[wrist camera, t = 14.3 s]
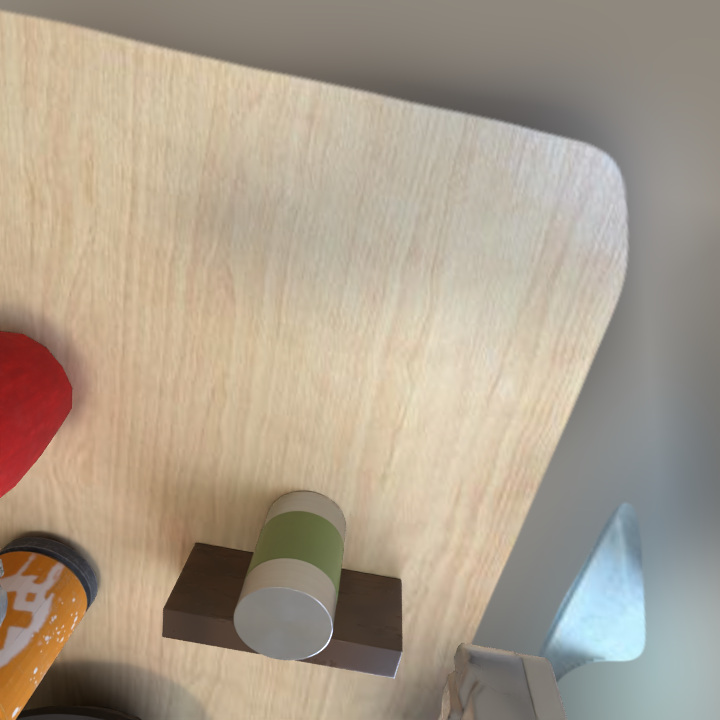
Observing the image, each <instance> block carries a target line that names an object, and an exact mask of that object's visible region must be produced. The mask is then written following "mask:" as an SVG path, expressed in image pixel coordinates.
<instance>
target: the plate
mask: <svg viewBox="0 0 720 720" xmlns="http://www.w3.org/2000/svg"><path fill="white" fill-rule="evenodd" d="M16 720H141V719H139V718H136V717H134V716H131V715H129V714H126V713H123V712H120V711H116V710H112V709H107V708H102V707H94V706H56V707H43V708H35V709H30V710H25V711H21V712H20V714H19V715H18V717H17V718H16Z"/></svg>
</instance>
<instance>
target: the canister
mask: <svg viewBox="0 0 720 720" xmlns="http://www.w3.org/2000/svg"><path fill="white" fill-rule="evenodd" d="M0 559H2V564H3V569H4V574H3V576H2V577H1V578H0V585H1V586H2V587H3V589H4V590H5V591H6V592H7V599H8V606H7V611H6V616H5V618H4V621H3V623H2V625H1V627H0V720H16V718H17V717H18V715H19V714H20V712H21V711H22V709H23V708H24V706H25V705H26V703H27V701H28V700H29V698H30V697H31V695H32V694H33V692H34V691H35V689H36V688H37V686H38V685H39V683H40V682H41V680H42V679H43V677H44V675H45V674H46V672H47V671H48V669H49V668H50V666H51V665H52V663H53V662H54V660H55V659H56V657H57V656H58V654H59V653H60V651H61V649H62V648H63V646H64V645H65V643H66V642H67V640H68V639H69V637H70V636H71V634H72V633H73V631H74V630H75V628H76V627H77V625H78V623H79V622H80V620H81V619H82V617H83V616H84V614H85V612H86V611H87V610H88V608H89V607H90V605H91V604H92V602H93V601H94V599H95V597H96V593H97V580H96V576H95V574H94V572H93V570H92V568H91V566H90V565H89V564H88V563H87V561H86V560H85V559H84V558H83V557H82V556H81V555H80V554H78V553H77V552H76V551H74V550H73V549H71V548H69V547H68V546H66V545H64V544H62V543H59V542H57V541H54V540H51V539H46V538H39V537H26V538H21V539H18V540H15V541H13V542H11V543H9V544H8V545H7V546H6V547H5V548H3V550H2V551H1V552H0Z"/></svg>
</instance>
